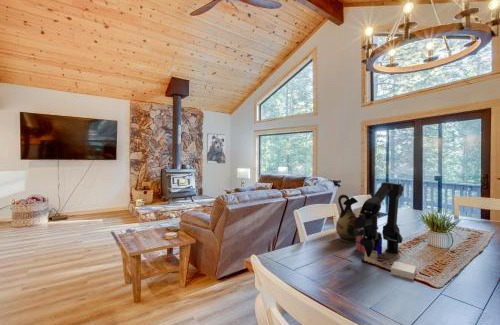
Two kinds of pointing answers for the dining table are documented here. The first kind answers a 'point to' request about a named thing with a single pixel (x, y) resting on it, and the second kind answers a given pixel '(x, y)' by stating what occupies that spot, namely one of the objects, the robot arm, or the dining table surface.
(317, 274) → the dining table surface
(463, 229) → the dining table surface
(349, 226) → the ceramic jug
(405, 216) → the dining table surface
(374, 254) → the maple cube
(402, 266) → the ceramic trivet
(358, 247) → the puzzle cube
